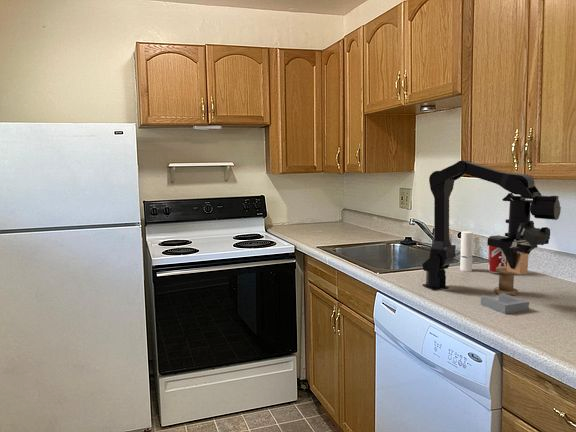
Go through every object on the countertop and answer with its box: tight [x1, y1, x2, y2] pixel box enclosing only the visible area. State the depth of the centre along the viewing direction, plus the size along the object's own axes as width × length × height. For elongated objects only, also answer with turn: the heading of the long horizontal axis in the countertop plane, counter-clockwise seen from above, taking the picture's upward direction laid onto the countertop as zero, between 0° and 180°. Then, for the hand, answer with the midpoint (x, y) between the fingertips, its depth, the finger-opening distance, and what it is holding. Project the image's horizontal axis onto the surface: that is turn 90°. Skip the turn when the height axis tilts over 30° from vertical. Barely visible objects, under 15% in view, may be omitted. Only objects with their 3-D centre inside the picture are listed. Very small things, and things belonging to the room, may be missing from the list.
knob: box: [493, 266, 519, 296], centre depth 160 cm, size 7×7×8 cm
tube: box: [459, 230, 474, 272], centre depth 190 cm, size 4×4×15 cm
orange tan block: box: [507, 251, 530, 275], centre depth 147 cm, size 5×3×6 cm, turn 21°
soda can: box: [487, 245, 507, 275], centre depth 186 cm, size 7×7×12 cm
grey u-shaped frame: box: [480, 293, 530, 315], centre depth 145 cm, size 10×9×2 cm
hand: (516, 268), depth 148 cm, fingers closed on orange tan block, 3 cm apart
